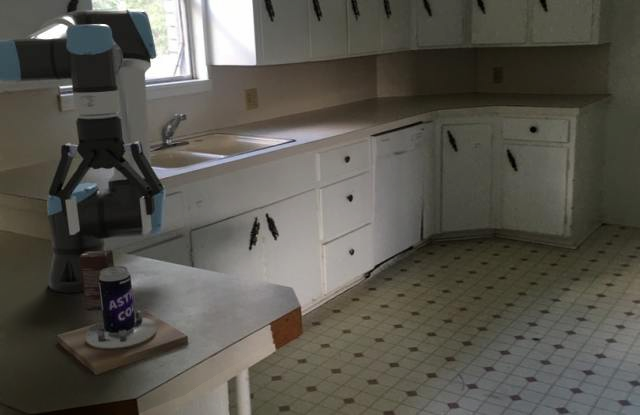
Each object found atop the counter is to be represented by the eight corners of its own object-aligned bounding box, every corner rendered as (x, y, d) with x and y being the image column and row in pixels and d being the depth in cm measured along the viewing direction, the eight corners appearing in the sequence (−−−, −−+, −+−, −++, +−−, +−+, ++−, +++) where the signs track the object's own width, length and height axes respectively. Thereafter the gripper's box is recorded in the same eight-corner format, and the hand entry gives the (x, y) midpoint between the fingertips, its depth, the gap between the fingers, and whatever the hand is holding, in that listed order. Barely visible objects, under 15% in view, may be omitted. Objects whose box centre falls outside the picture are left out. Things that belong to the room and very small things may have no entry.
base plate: (57, 342, 130) (56, 335, 130) (144, 316, 141) (143, 309, 141) (95, 374, 117) (94, 366, 116) (188, 343, 128) (187, 335, 128)
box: (118, 301, 150) (113, 249, 147) (112, 309, 146) (106, 255, 143) (91, 302, 150) (85, 250, 147) (84, 310, 146) (78, 256, 143)
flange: (74, 335, 129) (72, 320, 129) (138, 316, 138) (136, 302, 137) (102, 357, 120) (101, 341, 119) (169, 335, 128) (167, 320, 127)
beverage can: (109, 339, 125) (102, 277, 122) (101, 329, 129) (94, 269, 126) (140, 331, 128) (133, 271, 125) (130, 322, 132) (124, 263, 129)
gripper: (18, 119, 116) (35, 238, 121) (161, 116, 114) (172, 237, 120) (39, 114, 123) (53, 227, 129) (174, 111, 122) (183, 225, 127)
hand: (111, 232), depth 124 cm, fingers open, 13 cm apart
